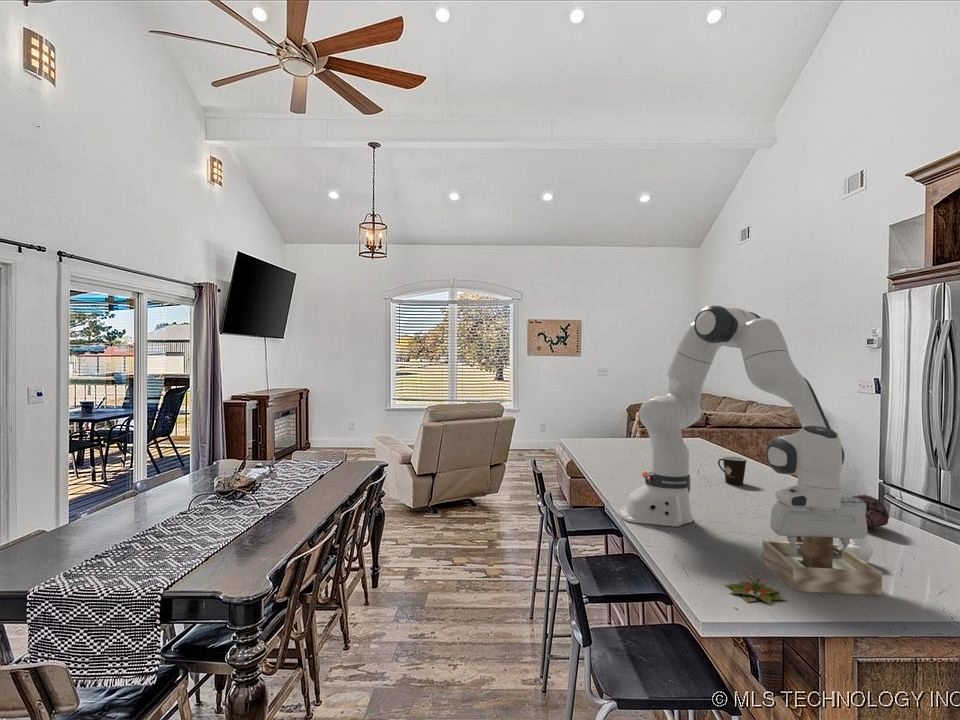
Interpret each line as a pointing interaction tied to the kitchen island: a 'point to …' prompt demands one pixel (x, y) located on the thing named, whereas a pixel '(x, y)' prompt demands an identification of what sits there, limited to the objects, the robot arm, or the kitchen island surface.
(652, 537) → the kitchen island surface
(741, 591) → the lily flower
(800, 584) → the peg box
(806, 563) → the peg
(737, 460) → the coffee mug
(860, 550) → the white ribbed rounded lump
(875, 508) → the pine cone
